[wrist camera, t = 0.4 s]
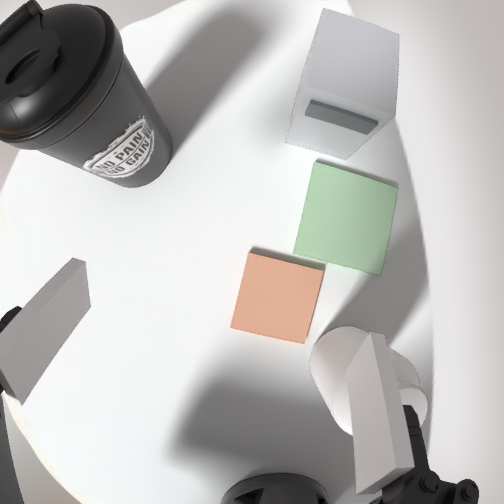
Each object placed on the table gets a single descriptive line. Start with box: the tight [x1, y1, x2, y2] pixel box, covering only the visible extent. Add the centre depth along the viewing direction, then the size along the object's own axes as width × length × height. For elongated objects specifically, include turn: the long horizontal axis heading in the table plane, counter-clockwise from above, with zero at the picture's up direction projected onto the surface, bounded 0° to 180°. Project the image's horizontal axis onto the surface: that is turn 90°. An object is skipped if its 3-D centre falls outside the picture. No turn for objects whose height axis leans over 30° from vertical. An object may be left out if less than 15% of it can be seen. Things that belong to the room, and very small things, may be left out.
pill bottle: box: [310, 326, 428, 436], centre depth 26 cm, size 8×8×15 cm
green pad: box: [293, 162, 398, 275], centre depth 33 cm, size 10×10×1 cm
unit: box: [285, 8, 399, 160], centre depth 27 cm, size 10×7×13 cm
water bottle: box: [0, 0, 172, 188], centre depth 21 cm, size 10×10×23 cm
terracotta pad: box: [230, 253, 324, 344], centre depth 33 cm, size 8×8×1 cm
